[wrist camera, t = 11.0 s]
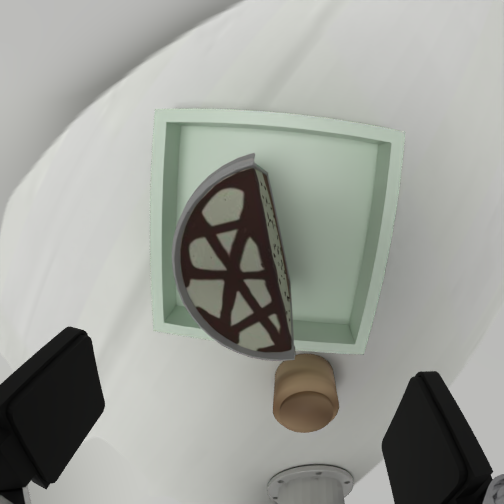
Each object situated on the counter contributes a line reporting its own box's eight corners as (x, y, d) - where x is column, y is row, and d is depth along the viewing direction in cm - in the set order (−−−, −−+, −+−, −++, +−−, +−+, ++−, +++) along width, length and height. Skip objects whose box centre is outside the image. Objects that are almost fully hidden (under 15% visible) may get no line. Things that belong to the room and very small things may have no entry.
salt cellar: (326, 399, 32) (331, 437, 26) (271, 395, 32) (268, 434, 26) (338, 355, 30) (347, 393, 24) (278, 350, 30) (276, 389, 25)
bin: (355, 331, 29) (363, 354, 25) (168, 310, 30) (153, 330, 26) (388, 134, 23) (405, 131, 20) (172, 115, 25) (155, 109, 21)
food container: (190, 171, 25) (136, 182, 16) (263, 154, 24) (250, 152, 15) (225, 308, 29) (198, 377, 19) (293, 297, 28) (296, 367, 18)
